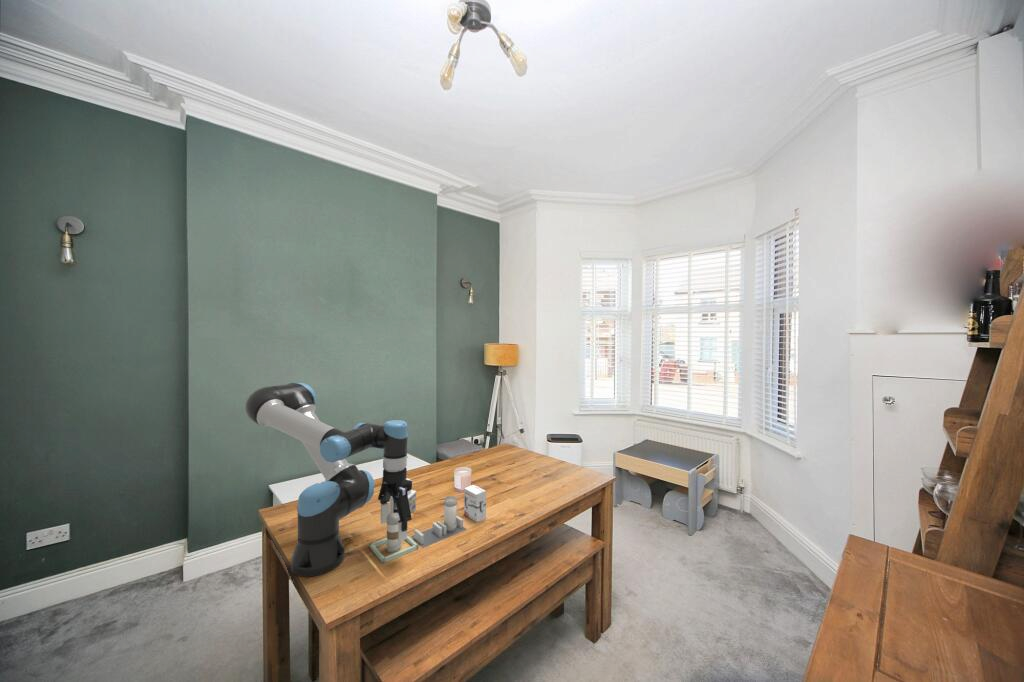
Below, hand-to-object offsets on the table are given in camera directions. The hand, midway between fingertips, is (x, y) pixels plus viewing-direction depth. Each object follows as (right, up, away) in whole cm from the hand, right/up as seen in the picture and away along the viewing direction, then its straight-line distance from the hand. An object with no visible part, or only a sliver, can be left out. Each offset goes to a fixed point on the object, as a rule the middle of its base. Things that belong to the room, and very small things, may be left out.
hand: (393, 530), depth 124 cm
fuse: (+17, -6, +13) cm, 22 cm away
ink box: (+25, -7, +23) cm, 34 cm away
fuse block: (+13, -7, +10) cm, 18 cm away
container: (-5, -6, +27) cm, 28 cm away
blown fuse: (0, -6, 0) cm, 6 cm away
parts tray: (0, -7, 0) cm, 7 cm away
